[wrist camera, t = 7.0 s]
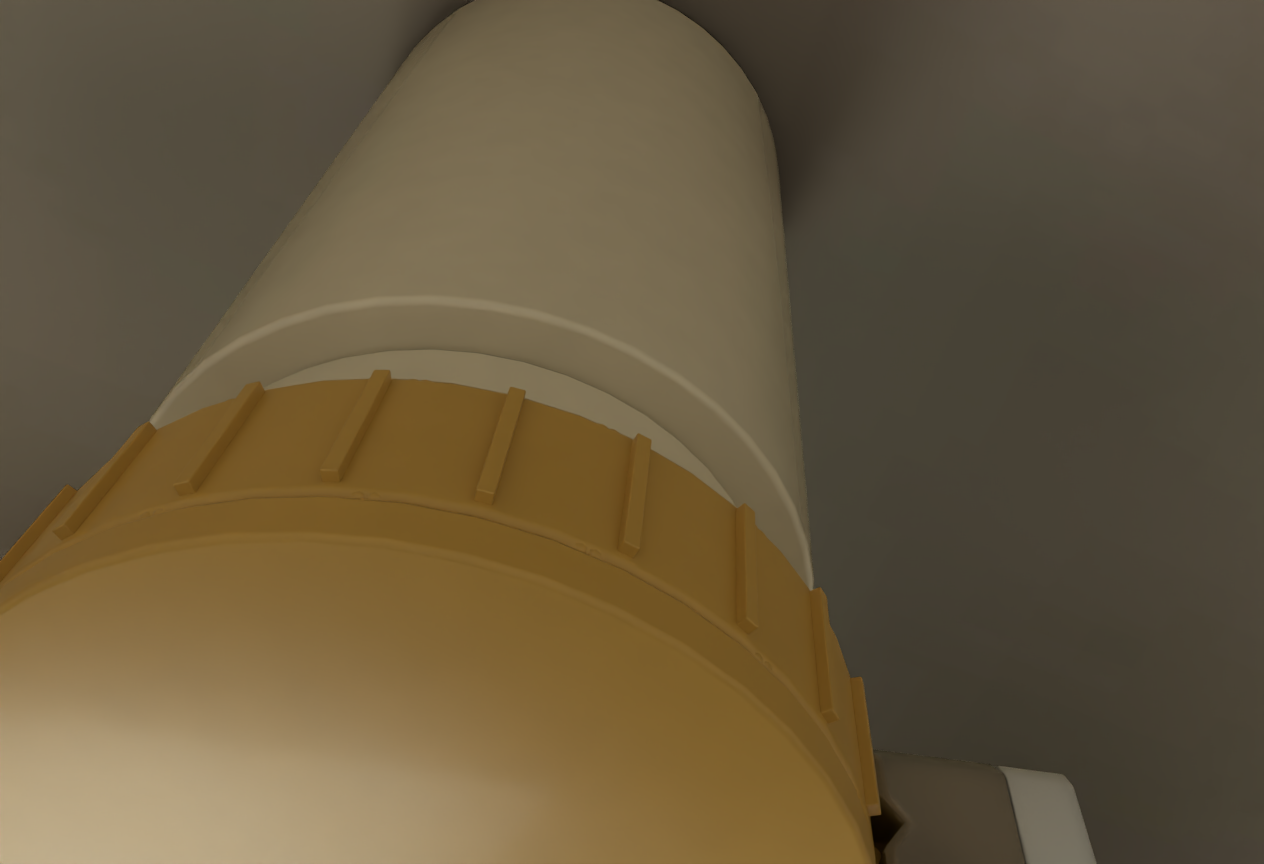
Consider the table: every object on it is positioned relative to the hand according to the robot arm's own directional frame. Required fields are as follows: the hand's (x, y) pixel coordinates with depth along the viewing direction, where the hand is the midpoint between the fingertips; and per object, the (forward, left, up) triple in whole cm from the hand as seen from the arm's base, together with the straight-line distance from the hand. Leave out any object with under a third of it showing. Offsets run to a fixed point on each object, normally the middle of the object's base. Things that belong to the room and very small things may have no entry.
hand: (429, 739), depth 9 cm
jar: (0, 0, -10) cm, 10 cm away
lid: (0, 0, +1) cm, 1 cm away
